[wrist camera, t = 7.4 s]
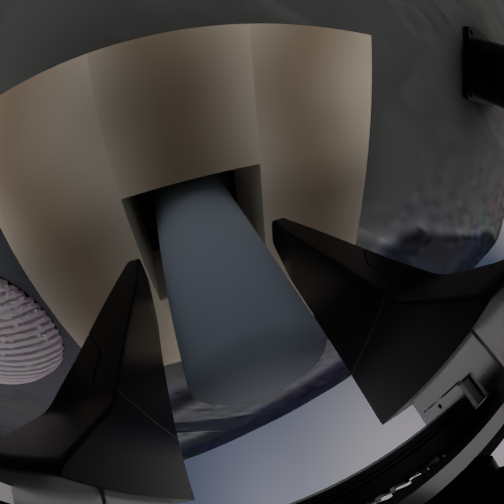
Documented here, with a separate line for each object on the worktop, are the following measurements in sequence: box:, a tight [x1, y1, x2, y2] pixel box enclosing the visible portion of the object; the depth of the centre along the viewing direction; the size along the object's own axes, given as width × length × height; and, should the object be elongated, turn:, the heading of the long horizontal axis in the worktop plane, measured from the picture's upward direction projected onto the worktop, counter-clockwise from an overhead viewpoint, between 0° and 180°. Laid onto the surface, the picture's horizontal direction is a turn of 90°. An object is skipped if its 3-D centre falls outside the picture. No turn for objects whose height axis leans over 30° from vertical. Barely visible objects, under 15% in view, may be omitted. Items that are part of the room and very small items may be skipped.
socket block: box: [0, 24, 372, 366], centre depth 11 cm, size 14×14×4 cm
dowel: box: [154, 173, 326, 405], centre depth 9 cm, size 3×3×9 cm
